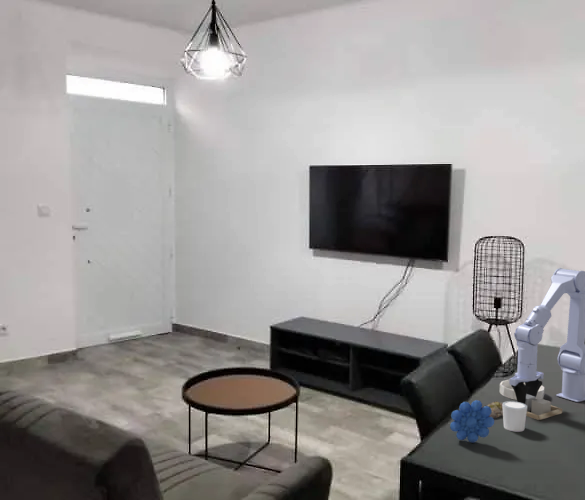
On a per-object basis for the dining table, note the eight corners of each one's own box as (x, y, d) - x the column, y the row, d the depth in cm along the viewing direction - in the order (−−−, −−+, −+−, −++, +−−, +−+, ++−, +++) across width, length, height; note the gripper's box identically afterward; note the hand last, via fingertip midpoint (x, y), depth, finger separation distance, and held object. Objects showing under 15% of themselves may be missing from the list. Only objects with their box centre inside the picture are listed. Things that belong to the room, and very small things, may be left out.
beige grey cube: (539, 410, 188) (539, 398, 188) (550, 414, 185) (550, 401, 184) (531, 412, 186) (531, 400, 186) (542, 416, 183) (543, 404, 182)
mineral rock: (484, 399, 192) (508, 397, 187) (488, 412, 192) (512, 410, 187) (472, 409, 184) (497, 408, 179) (476, 423, 183) (501, 422, 179)
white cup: (526, 425, 175) (526, 402, 175) (527, 433, 169) (527, 409, 168) (501, 422, 177) (502, 399, 177) (501, 430, 171) (502, 407, 170)
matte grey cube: (524, 405, 193) (524, 393, 192) (535, 408, 189) (535, 396, 189) (516, 407, 191) (516, 395, 190) (527, 411, 187) (527, 398, 187)
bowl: (517, 385, 213) (517, 377, 213) (552, 396, 201) (552, 387, 201) (491, 392, 206) (491, 383, 206) (526, 403, 194) (526, 394, 194)
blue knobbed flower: (494, 439, 165) (495, 397, 164) (493, 448, 158) (494, 405, 158) (451, 433, 169) (452, 392, 168) (448, 442, 162) (449, 400, 162)
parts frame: (529, 401, 196) (529, 398, 196) (562, 412, 185) (563, 409, 185) (505, 408, 189) (505, 404, 189) (538, 420, 179) (538, 416, 179)
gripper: (530, 356, 196) (529, 396, 197) (501, 362, 188) (500, 404, 189) (549, 361, 190) (548, 402, 191) (520, 367, 182) (519, 410, 183)
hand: (525, 403), depth 190 cm, fingers open, 4 cm apart
